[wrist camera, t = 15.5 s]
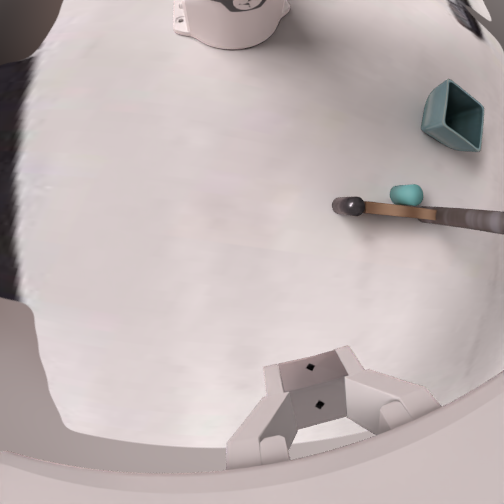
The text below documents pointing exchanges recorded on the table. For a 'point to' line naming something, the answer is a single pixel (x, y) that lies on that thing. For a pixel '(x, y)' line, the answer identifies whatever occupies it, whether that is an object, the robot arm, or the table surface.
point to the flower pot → (454, 118)
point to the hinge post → (348, 206)
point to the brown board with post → (444, 216)
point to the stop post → (406, 195)
